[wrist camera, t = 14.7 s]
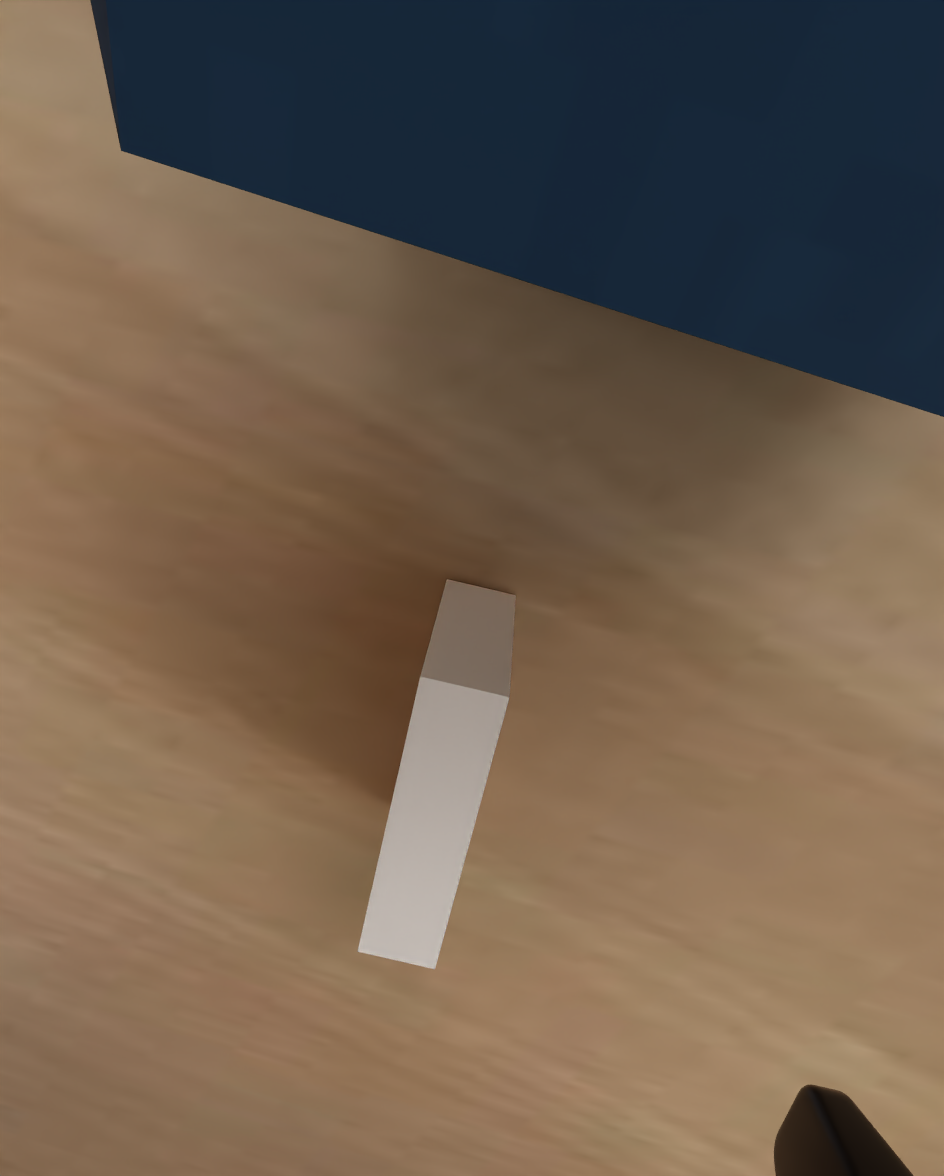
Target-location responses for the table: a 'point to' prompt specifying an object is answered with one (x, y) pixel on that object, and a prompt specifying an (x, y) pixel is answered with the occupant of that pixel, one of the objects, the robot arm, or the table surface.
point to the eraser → (441, 774)
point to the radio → (592, 151)
